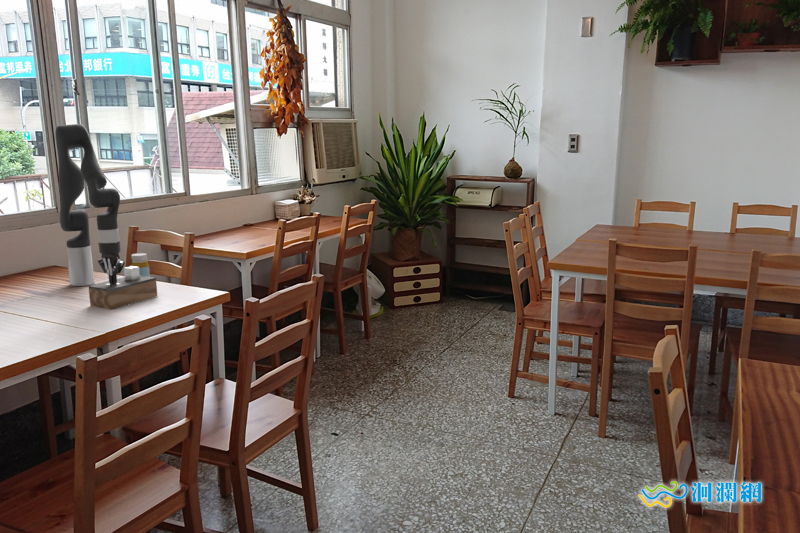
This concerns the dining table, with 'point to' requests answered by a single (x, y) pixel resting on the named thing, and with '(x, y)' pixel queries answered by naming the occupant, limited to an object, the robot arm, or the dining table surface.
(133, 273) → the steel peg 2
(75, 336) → the dining table surface
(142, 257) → the bottle
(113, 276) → the robot arm
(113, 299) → the walnut block
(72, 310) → the dining table surface
